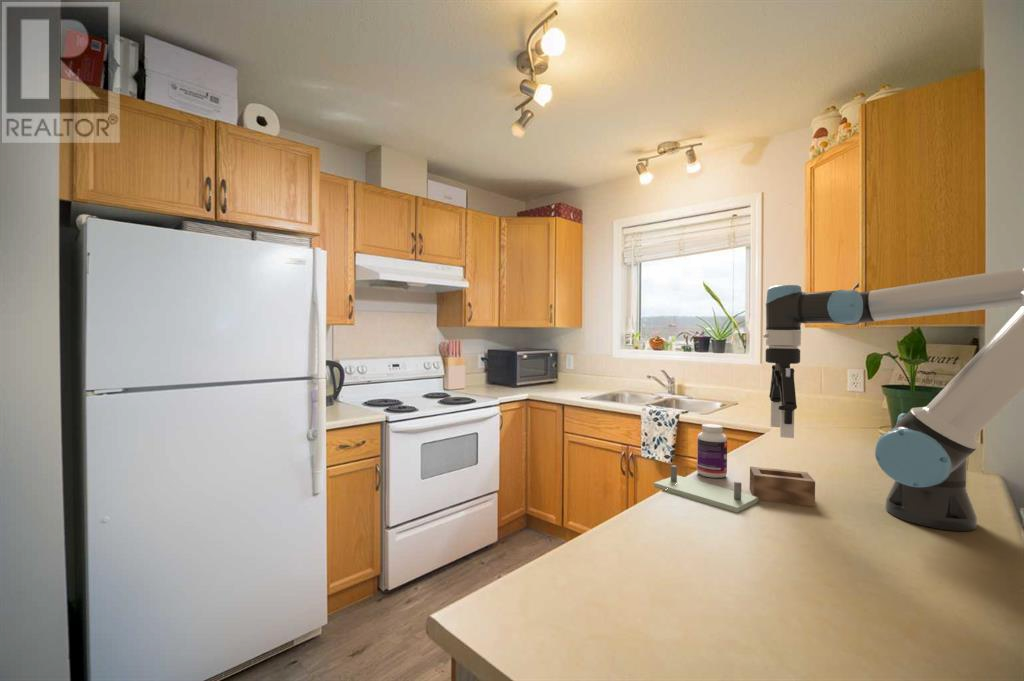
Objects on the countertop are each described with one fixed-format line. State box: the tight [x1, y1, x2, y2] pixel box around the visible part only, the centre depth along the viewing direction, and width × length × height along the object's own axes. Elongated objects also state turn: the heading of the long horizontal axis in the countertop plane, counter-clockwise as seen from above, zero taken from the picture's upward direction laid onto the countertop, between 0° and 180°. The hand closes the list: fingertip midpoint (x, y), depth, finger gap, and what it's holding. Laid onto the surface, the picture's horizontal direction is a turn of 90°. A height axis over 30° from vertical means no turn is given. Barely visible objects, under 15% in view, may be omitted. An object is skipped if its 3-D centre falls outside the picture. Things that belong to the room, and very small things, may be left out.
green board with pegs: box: [653, 465, 759, 514], centre depth 117 cm, size 22×11×5 cm, turn 39°
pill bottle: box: [696, 423, 728, 479], centre depth 133 cm, size 8×8×14 cm
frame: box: [749, 466, 816, 507], centre depth 115 cm, size 13×8×6 cm, turn 69°
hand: (781, 432), depth 115 cm, fingers open, 13 cm apart
